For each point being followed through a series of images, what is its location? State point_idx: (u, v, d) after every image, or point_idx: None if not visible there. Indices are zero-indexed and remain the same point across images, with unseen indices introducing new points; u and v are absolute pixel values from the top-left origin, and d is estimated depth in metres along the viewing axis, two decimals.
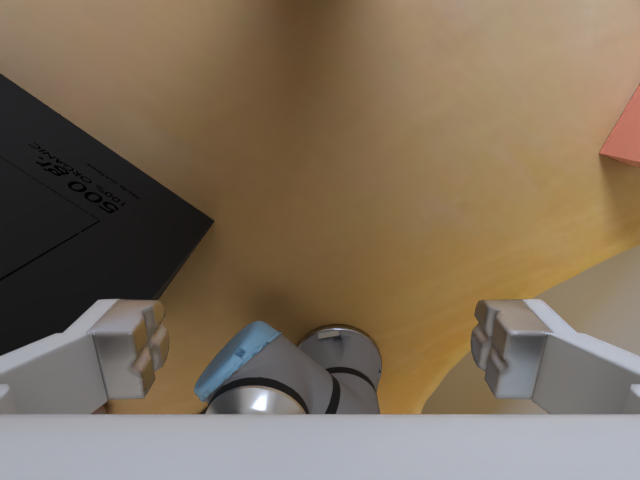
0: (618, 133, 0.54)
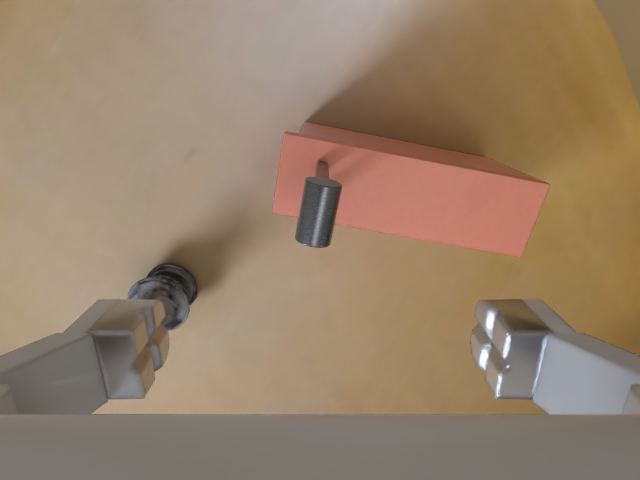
0: None
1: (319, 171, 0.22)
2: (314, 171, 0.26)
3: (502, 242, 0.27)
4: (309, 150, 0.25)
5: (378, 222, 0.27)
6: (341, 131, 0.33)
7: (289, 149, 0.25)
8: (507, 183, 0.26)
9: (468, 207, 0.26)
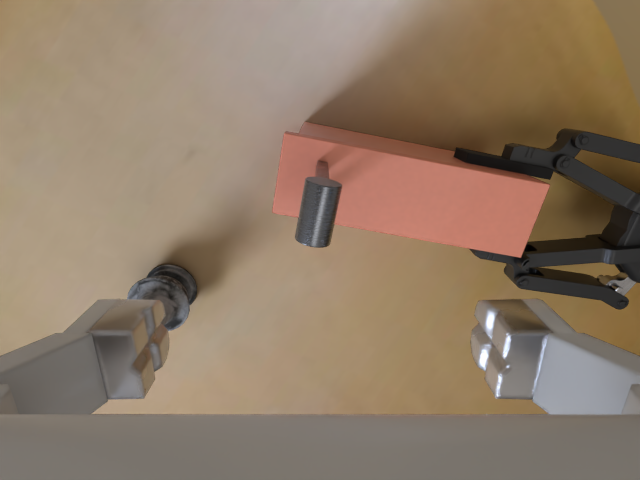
0: None
1: (319, 171, 0.22)
2: (314, 171, 0.26)
3: (502, 243, 0.27)
4: (309, 150, 0.25)
5: (378, 222, 0.27)
6: (341, 131, 0.33)
7: (289, 149, 0.25)
8: (507, 183, 0.26)
9: (468, 207, 0.26)
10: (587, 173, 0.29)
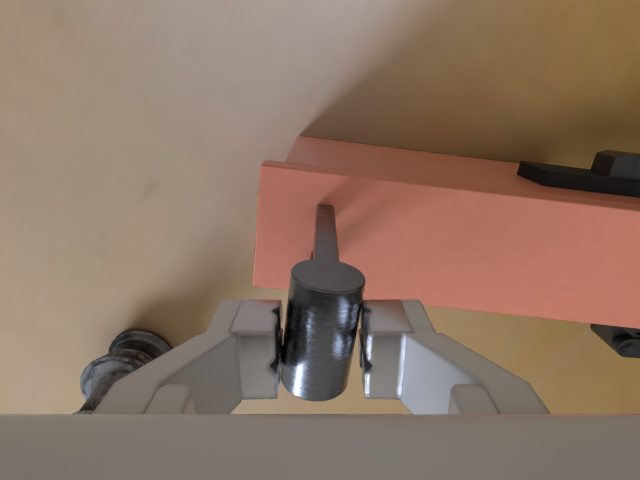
0: None
1: (320, 235, 0.12)
2: (313, 220, 0.16)
3: (613, 309, 0.17)
4: (303, 189, 0.16)
5: (418, 290, 0.17)
6: (350, 147, 0.23)
7: (271, 189, 0.16)
8: (625, 220, 0.16)
9: (561, 260, 0.17)
10: None
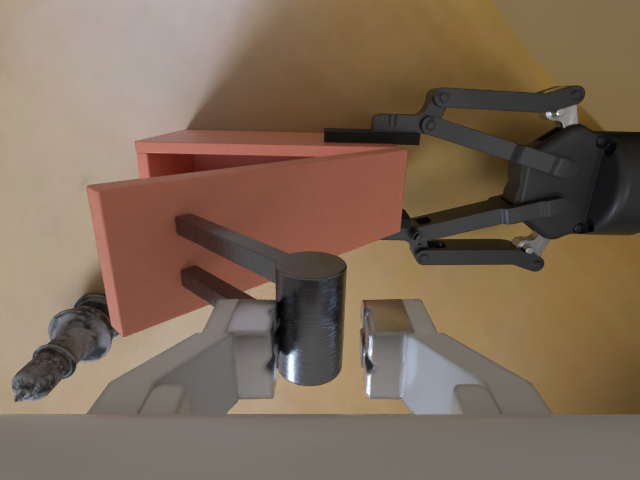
0: None
1: (235, 240, 0.12)
2: (174, 236, 0.14)
3: (386, 225, 0.25)
4: (155, 205, 0.14)
5: None
6: (215, 132, 0.32)
7: (118, 217, 0.13)
8: (380, 161, 0.22)
9: (356, 201, 0.22)
10: (458, 131, 0.27)
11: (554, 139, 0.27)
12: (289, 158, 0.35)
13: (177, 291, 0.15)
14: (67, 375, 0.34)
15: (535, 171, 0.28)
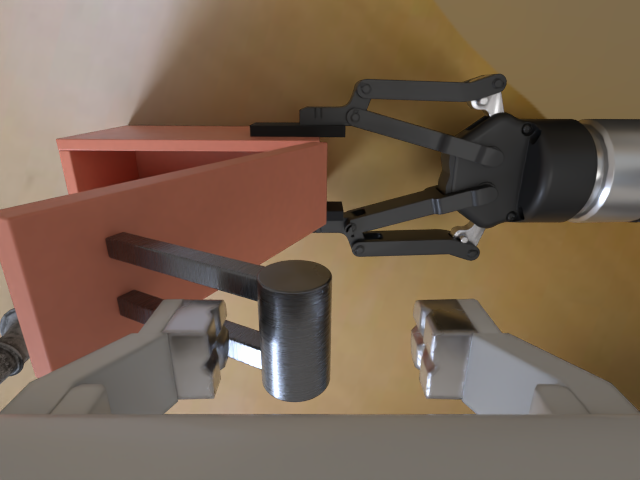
0: None
1: (195, 258, 0.11)
2: (106, 260, 0.12)
3: (314, 219, 0.25)
4: (81, 228, 0.12)
5: None
6: (152, 128, 0.32)
7: (38, 247, 0.11)
8: (304, 156, 0.22)
9: (286, 199, 0.21)
10: (383, 122, 0.27)
11: (480, 128, 0.27)
12: (231, 152, 0.35)
13: (115, 323, 0.13)
14: (15, 372, 0.35)
15: (463, 160, 0.28)
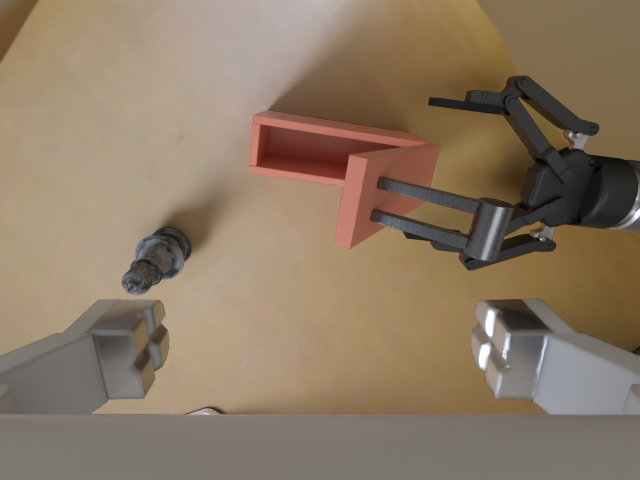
0: None
1: (439, 191, 0.22)
2: (375, 189, 0.24)
3: None
4: (376, 169, 0.23)
5: None
6: (293, 115, 0.43)
7: (367, 175, 0.22)
8: (431, 152, 0.34)
9: (420, 178, 0.33)
10: (524, 115, 0.38)
11: (561, 157, 0.40)
12: (342, 142, 0.46)
13: (367, 224, 0.25)
14: (154, 283, 0.45)
15: (546, 177, 0.40)
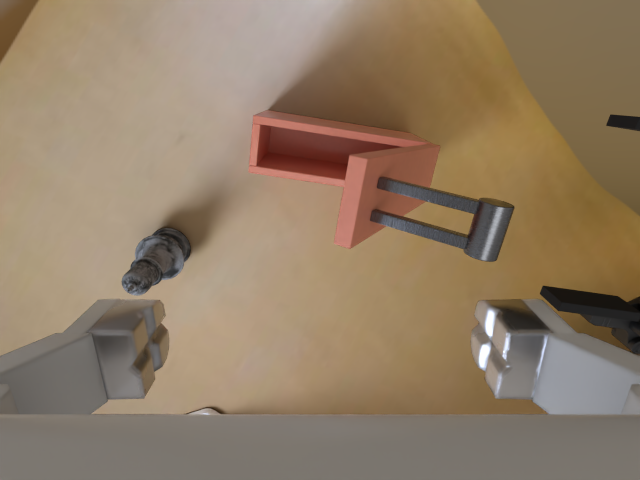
0: None
1: (439, 191, 0.22)
2: (375, 189, 0.24)
3: None
4: (376, 169, 0.23)
5: None
6: (293, 115, 0.43)
7: (367, 175, 0.22)
8: (431, 152, 0.34)
9: (420, 178, 0.33)
10: None
11: None
12: (342, 142, 0.46)
13: (367, 224, 0.25)
14: (154, 283, 0.45)
15: None
